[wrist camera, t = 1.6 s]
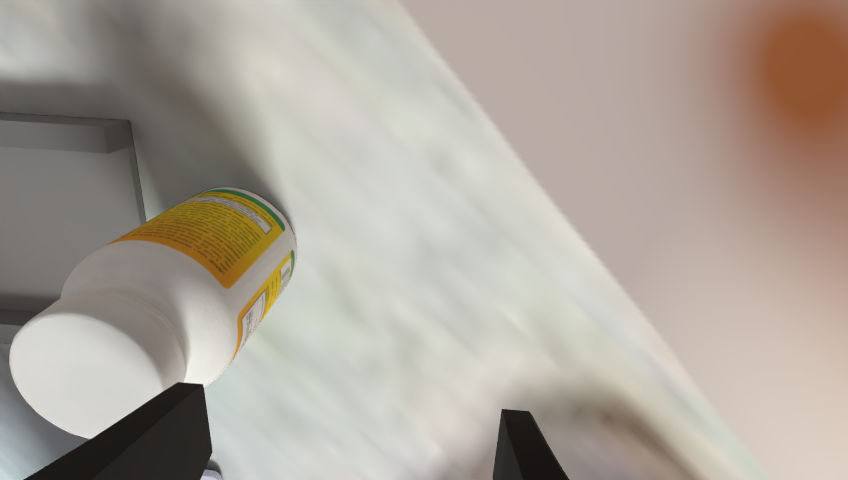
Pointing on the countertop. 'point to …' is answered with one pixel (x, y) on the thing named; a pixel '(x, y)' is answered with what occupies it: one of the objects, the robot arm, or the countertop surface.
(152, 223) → the supplement bottle
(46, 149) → the stand
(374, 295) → the countertop surface
